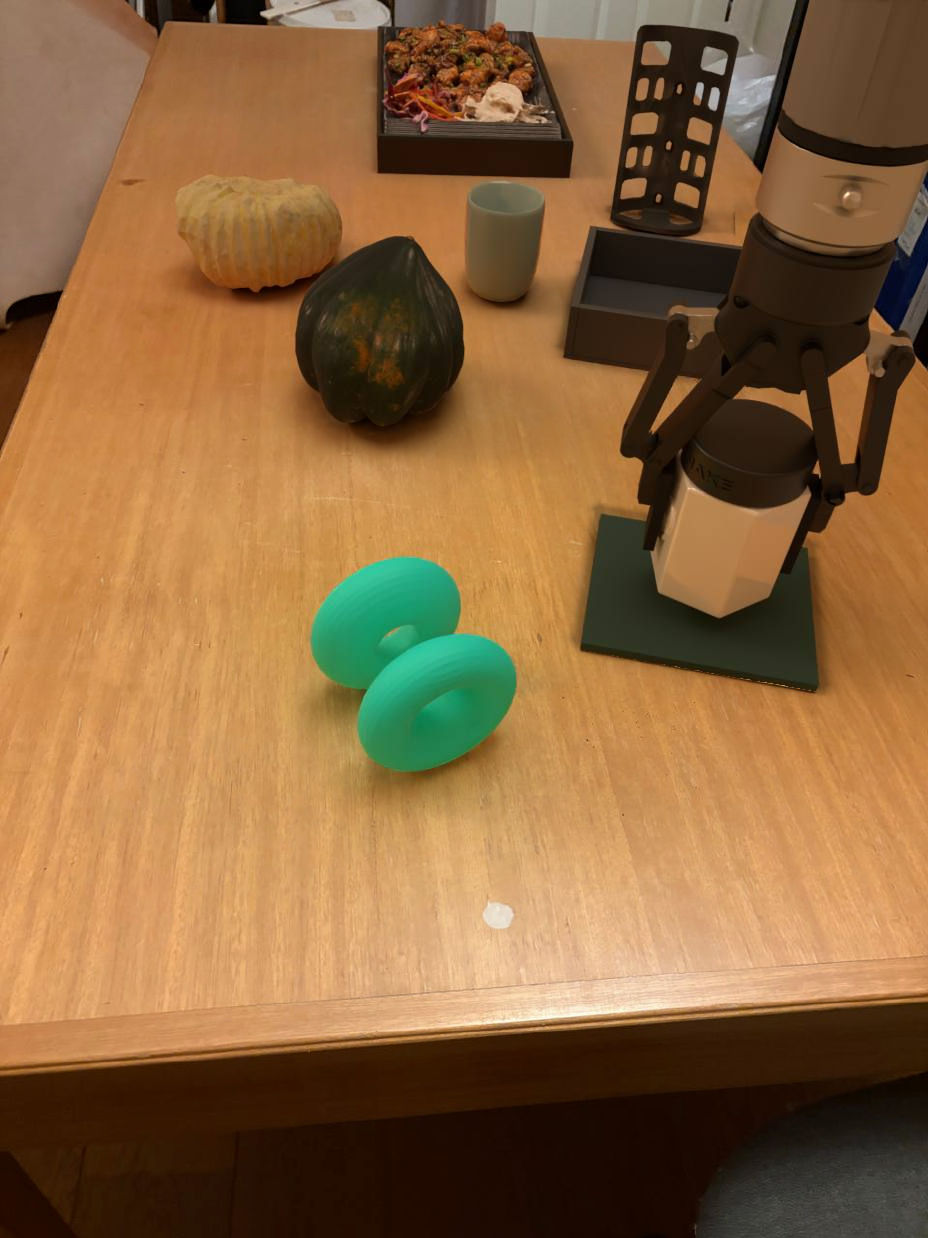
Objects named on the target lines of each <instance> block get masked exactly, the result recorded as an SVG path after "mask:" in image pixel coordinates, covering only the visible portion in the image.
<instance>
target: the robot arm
mask: <svg viewBox="0 0 928 1238" xmlns="http://www.w3.org/2000/svg"><path fill="white" fill-rule="evenodd" d="M796 47H797V48H796V51H795V56H794V59H793V63H792V67H791V71H790V74H789V78H788V83H787V85H786V90H785V94H784V97H783V101H782V105H781V107H780V111H779V116H778V119H777V120H778V121H777V123H776V125H775V129H774V133H773V136H772V139H771V142H770V146H769V149H768V154H767V156H766V160H765V164H764V167H763V171H762V174H761V177H760V181H759V185H758V187H757V191H756V195H755V198H754V201H755V208H756V210H757V211H758V212H757V213H755V214H754V215H752V217H751V218H750V219H749V222H748V225H747V228H746V232H745V236H744V238H743V242H742V245H741V246H742V250H741V254H740V257H739V261H738V264H737V268H736V272H735V275H734V279H733V283H732V286H731V288H730V290H729V292H728V294H727V295H726V296H725V298H724V299H723V300H722V301H721V302H720V303H719V304H718V305H717V307H716V308H689V304H688V303H687V301H685V300H684V299H675V300H674V301H672V302H671V303H670V305H669V308H668V316H667V327H666V337H665V339H664V341H663V343H662V345H661V348H660V350H659V352H658V354H657V356H656V358H655V360H654V362H653V364H652V367H651V369H650V370H648V373H647V375H646V377H645V378H644V379H645V380H644V381H643V384H642V386H641V388H640V389H639V392H638V394H637V396H636V398H635V400H634V402H633V404H632V407H631V409H630V411H629V413H628V415H627V418H626V419H625V422H624V424H623V426H622V432H621V438H620V444H619V445H620V447H619V452H620V455H621V456H622V457H624V458H626V459H634V458H636V459H637V460H639V461H640V462H641V463H642V468H641V473H640V476H639V480H638V484H637V495H636V498H637V502H638V504H639V505H645V506H649V508H648V512H647V516H646V519H645V521H646V523H645V532H644V542H643V550H648V551H654V548H655V545H656V541H657V537H658V533H659V530H660V526H661V522H662V519H663V515H664V511H665V508H666V504H667V500H668V497H669V493H670V489H671V486H672V482H673V478H674V470H675V455H676V454H677V453H678V452H679V451H680V450H681V449H682V448H683V446H684V445H685V444H686V443H687V442H688V441H689V440H690V439H691V438H692V437H693V436H694V435H695V434H696V433H697V432H698V431H699V429H700V428H701V427H702V426H703V425H704V424H705V423H706V422H707V421H708V420H709V419H710V418H711V417H712V416H713V415H714V413H715V412H716V411H717V410H718V409H719V408H720V407H721V406H722V405H723V404H724V403H725V402H726V401H727V400H728V399H729V400H731V399H735V397H736V396H737V395H738V394H739V393H740V392H741V391H742V390H743V389H744V388H745V387H747V388H754V389H758V390H759V389H772V388H773V389H775V390H776V389H777V390H779V391H782V392H784V393H787V394H792V395H798V396H800V395H801V393H802V392H803V391H805V394H806V400H807V405H808V411H809V416H810V421H811V426H812V427H811V428H812V430H813V433H814V439H815V444H816V450H817V456H818V461H817V463H818V468H819V473H814V472H813V473H812V475H811V478H810V480H809V483H808V487H809V489H810V492H811V497H810V500H809V502H808V504H807V507H806V509H805V512H804V514H803V516H802V519H801V521H800V524H799V526H798V528H797V531H796V533H795V536H794V538H793V540H792V543H791V545H790V548H789V550H788V553H787V555H786V557H785V560H784V562H783V565H782V567H781V569H780V572H779V573H783V574H789V575H790V573H791V571H792V569H793V566H794V564H795V562H796V559H797V557H798V555H799V552H800V550H801V548H802V547H803V546H804V543H805V540H806V539H807V536H808V534H809V532H811V533H816V534H821V533H822V532H823V531H824V530H825V529H827V527H828V525H829V522H830V520H831V518H832V516H833V513H834V510H835V508H836V507H840V506H841V505H843V504H844V503H845V502H846V497H847V496H846V495H847V494H850V493H858V494H859V495H861V496H864V497H866V496H867V497H868V496H872V495H874V494H875V493H877V492H878V489H879V487H880V481H881V475H882V470H883V465H884V461H885V456H886V451H887V447H888V442H889V441H888V440H889V435H890V431H891V427H892V422H893V417H894V412H895V408H896V407H895V406H896V401H897V396H898V391H899V389H900V388H901V387H902V385H903V383H904V382H905V380H906V379H907V377H908V376H909V374H910V372H911V370H912V369H913V368H914V367H915V364H916V361H917V360H916V359H917V358H916V353H915V350H914V346H913V343H912V338H911V336H910V335H911V334H910V333H909V332H908V331H906V330H903V329H898V330H894V331H893V332H891V333H890V334H887V333H883V332H879V331H876V330H873V329H870V318H871V315H872V313H873V311H874V309H875V305H876V303H877V300H878V298H879V295H880V294H881V290H882V288H883V285H884V283H885V280H886V278H887V276H888V273H889V271H890V268H891V265H892V263H893V261H894V258H895V255H896V252H897V247H896V246H897V245H896V244H895V241H894V240H896V239H897V238H899V237H901V236H902V235H903V233H904V231H905V229H906V228H907V225H908V222H909V220H910V217H911V215H912V213H913V209H914V207H915V204H916V202H917V199H918V197H919V194H920V191H921V189H922V186H923V183H924V181H925V179H926V177H927V173H928V0H809V1H808V5H807V9H806V13H805V16H804V21H803V25H802V29H801V32H800V36H799V40H798V44H797V46H796ZM709 332H715V333H716V335H717V337H718V340H719V342H720V344H721V346H722V348H723V351H722V352H721V354H720V355H719V356H718V357H717V358H716V360H715V362H714V364H713V366H712V368H711V369H710V370H709V371H708V372H707V374H706V375H705V376H704V377H703V378H700V380H699V381H698V382H697V384H695V386H694V387H693V388H692V389H691V390H690V391H689V392H688V394H686V395H685V397H684V398H683V399H682V400H681V401H680V403H679V404H678V405H677V406H676V407H675V408H674V409H673V410H672V411H671V413H670V414H669V415H668V416H667V417H666V418H665V419H664V420H663V421H662V423H661V424H660V425H659V426H658V427H657V428H656V430H655V431H654V432H653V430H652V427H653V425H654V423H655V421H656V420H657V417H658V415H659V413H660V412H661V409H662V407H663V406H664V404H665V402H666V399H667V397H668V396H669V393H670V391H671V389H672V388H673V385H674V383H675V382H676V380H677V377H678V376H679V375H678V374H679V372H680V370H681V367H682V365H683V363H684V359H685V355H686V349H688V350H692V349H694V348H695V347H697V346H698V345H699V344H700V342H701V340H702V338H703V336H704V335H705V334H707V333H709ZM861 355H865V356H866V357H865V363H866V369H867V371H868V374H869V375H868V381H867V388H866V392H865V397H864V404H863V410H862V416H861V420H860V426H859V432H858V437H857V444H856V449H855V455H854V460H853V462H851V463H842V461H841V454H840V448H839V442H838V441H839V440H838V436H837V429H836V423H835V415H834V410H833V402H832V396H831V390H830V383H829V378H831V377H832V376H834V374H836V373H837V372H839V371H840V370H841V369H843V368H844V367H846V366H848V365H849V364H850V363H851V362H853V361H854V360H856V359H857V358H858V357H860V356H861Z"/></svg>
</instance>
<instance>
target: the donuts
mask: <svg viewBox="0 0 928 1238" xmlns="http://www.w3.org/2000/svg"><path fill="white" fill-rule="evenodd" d="M461 602H462V600H461V594H460V591H459V588H458V586H457V583H456V581H455V580H454V578H453V577H452V575H451V574H450V573H449V572H448V571H447V570H446V569H445V568H444V567H442V566H441V565H440V564H438V563H437V562H434V561H431V560H429V559H426V558H422V557H418V556H395V557H389V558H386V559H382V560H379V561H376V562H372V563H370V564H368V565H366V566H364V567H361V568H360V569H358V570H356V571H354V572H353V573H352V574H350V575H349V576H347V577H346V578H345V579H343V581H341V582H340V583H339V584H338V585H336V587H335V588H334V589H332V591H331V592H330V593H329V594H328V595H327V596H326V598H325V599H324V601H322V604H321V605H320V607H319V608H318V610H317V612H316V614H315V617H314V619H313V622H312V626H311V631H310V640H309V641H310V649H311V653H312V657H313V659H314V661H315V664H316V665H317V667H318V669H319V670H320V671H321V672H322V673H323V674H324V676H326V677H327V678H328V679H329V680H331V681H333V682H334V683H336V684H338V685H341V686H342V687H346V688H350V689H354V690H366V692H365V694H364V696H363V698H362V700H361V702H360V703H361V704H360V707H359V710H358V713H357V735H358V739H359V743H360V745H361V747H362V749H363V750H364V752H365V753H366V754H367V756H368V757H369V758H370V759H371V760H372V761H374V763H376V764H378V765H379V766H381V767H384V768H386V769H388V770H391V771H396V772H404V773H405V772H409V773H411V772H422V771H426V770H431V769H435V768H438V767H440V766H443V765H445V764H448V763H451V762H452V761H454V760H456V759H458V758H460V757H462V756H463V755H465V754H467V753H468V752H470V751H471V750H472V749H475V748H476V747H477V746H478V745H479V744H481V743H482V742H483V741H485V739H487V738H488V737H489V736H490V735H491V734H492V733H493V732H494V730H496V729H497V727H498V726H499V725H500V724H501V723H502V721H503V720H504V718H505V717H506V716H507V714H508V713H509V711H510V708H511V706H512V705H513V701H514V699H515V695H516V692H517V685H518V683H517V682H518V677H517V670H516V666H515V664H514V661H513V658H512V657H511V656H510V654H509V653H508V652H507V650H506V649H505V648H503V646H501V645H500V644H499V643H497V642H496V641H494V640H493V639H490V638H488V637H486V636H483V635H479V634H472V633H456V631H457V628H458V626H459V622H460V617H461V613H462V603H461ZM394 630H395V631H394ZM392 631H393V632H392ZM390 632H392V633H390ZM389 633H390V634H389ZM388 634H389V635H388Z"/></svg>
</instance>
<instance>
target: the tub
mask: <svg viewBox="0 0 928 1238" xmlns="http://www.w3.org/2000/svg"><path fill="white" fill-rule="evenodd" d="M742 246H743V245H735V244H727V243H721V242H712V241H705V240H699V239H693V238H692V239H691V238H684V237H678V236H677V237H676V236H670V235H664V234H656V233H649V232H648V233H647V232H641V231H640V232H639V231H632V230H625V229H616V228H612V227H611V228H610V227H602V226H596V225H589V229H588V233H587V237H586V240H585V245H584V249H583V254H582V257H581V261H580V266H579V270H578V274H577V278H576V282H575V285H574V290H573V295H572V299H571V303H570V307H569V313H568V314H569V315H568V321H567V329H566V336H565V341H564V349H563V356H562V357H563V358H565V359H570V360H578V361H583V362H584V361H585V362H591V363H596V364H597V363H598V364H603V365H604V364H605V365H611V366H618V367H624V368H630V369H631V368H632V369H637V370H643V371H650V369H651V367H652V364H653V362H654V360H655V358H656V356H657V354H658V352H659V350H660V348H661V345H662V343H663V341H664V339H665V337H666V327H667V316H668V308H669V305H670V303H671V302H672V301H674V300H675V299H684V300H685V301H687V303H688V304H689V308H716V307H717V305H718V304H719V303H720V302H721V301H722V300H723V299H724V298H725V296H726V295H727V294H728V292H729V290H730V288H731V286H732V283H733V279H734V275H735V272H736V268H737V264H738V261H739V257H740V254H741V250H742ZM722 351H723V348H722V346H721V344H720V342H719V340H718V337H717V335H716V333H715V332H709V333H707V334H705V335H704V336H703V338H702V340H701V342H700V344H699V345H698V346H697V347H695V348H694V349H692V350H688V349H686V355H685V359H684V363H683V365H682V367H681V370H680V372H679V374H678V376H683V377H691V378H696V379H702V378H703V377H704V376H705V375H706V374H707V372H708V371H709V370H710V369H711V368H712V366H713V364H714V362H715V360H716V358H717V357H718V356H719V355H720V354H721V352H722Z"/></svg>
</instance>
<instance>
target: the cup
mask: <svg viewBox="0 0 928 1238" xmlns="http://www.w3.org/2000/svg"><path fill="white" fill-rule="evenodd" d="M543 193H544V192H542V191H540V189H538V188H536V187H534V186H531V185H529V184H526V183H522V182H518V181H517V182H516V181H510V180H490V181H483V182H480V183H477V184H475V185H474V186H473V187H471V188H470V190H469V191H468V193H467V195H466V202H465V217H464V238H463V239H464V240H463V241H464V243H463V246H464V247H463V248H464V249H463V251H464V252H463V253H464V254H463V255H464V270H465V276H466V279H467V282H468V285H469V287H470V289H471V290H472V291H473V292H474V294H476V295H477V296H479V297H480V298H482V299H484V300H488V301H490V302H497V303H508V302H513V301H517V300H518V299H520V298H522V297H523V296H524V295H525V294H526V293H527V292H528V291H529V290H530V288H531V286H532V284H533V282H534V279H535V276H536V273H537V270H538V264H539V260H540V254H541V250H542V249H541V248H542V241H543V234H544V233H543V232H544V224H545V214H546V198H545V195H544V194H543Z"/></svg>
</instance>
